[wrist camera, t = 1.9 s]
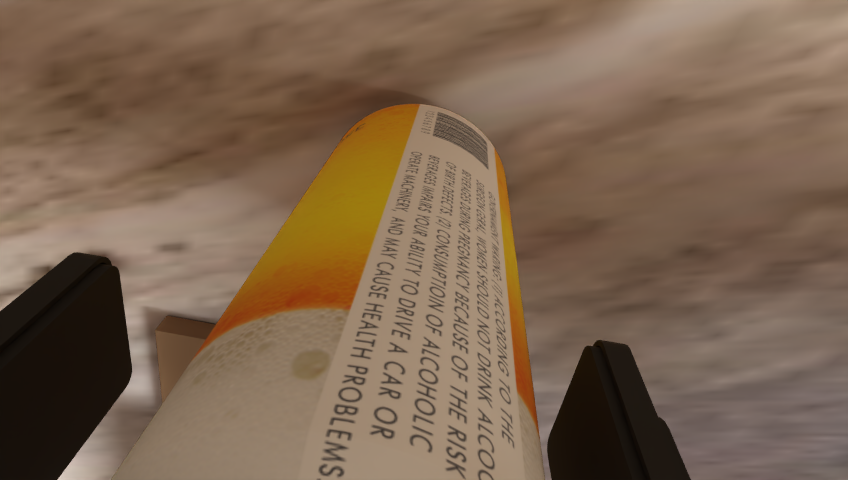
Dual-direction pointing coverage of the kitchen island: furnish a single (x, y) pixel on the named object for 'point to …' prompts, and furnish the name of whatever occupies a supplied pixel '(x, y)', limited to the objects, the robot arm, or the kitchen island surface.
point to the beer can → (368, 328)
